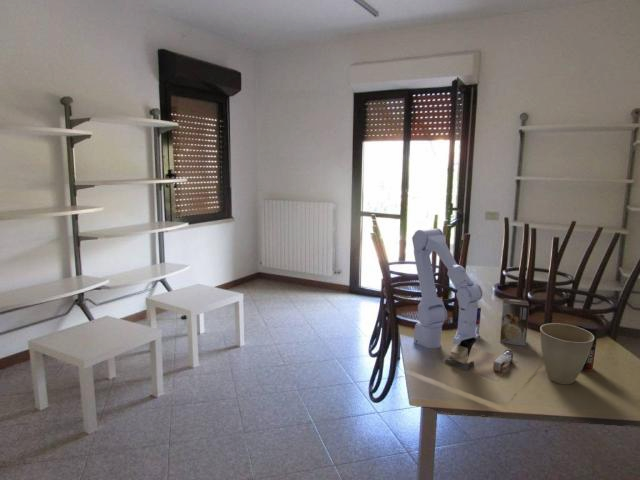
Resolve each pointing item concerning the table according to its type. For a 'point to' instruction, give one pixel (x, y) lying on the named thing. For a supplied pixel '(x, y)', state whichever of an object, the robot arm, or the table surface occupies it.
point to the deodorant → (594, 330)
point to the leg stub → (459, 354)
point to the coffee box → (514, 321)
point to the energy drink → (478, 318)
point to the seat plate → (481, 364)
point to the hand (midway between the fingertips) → (464, 357)
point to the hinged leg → (503, 360)
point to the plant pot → (564, 350)
